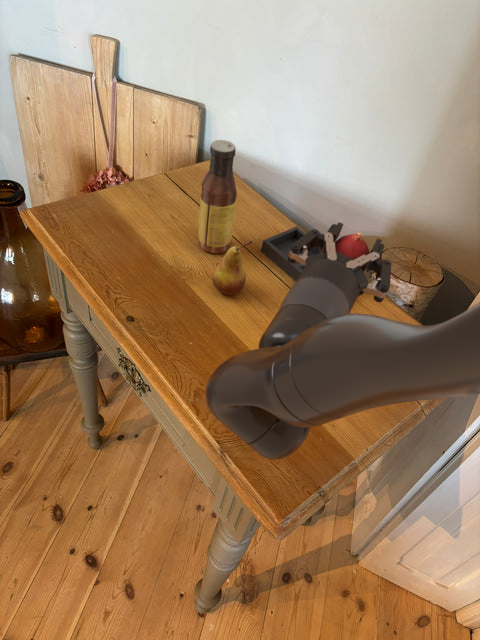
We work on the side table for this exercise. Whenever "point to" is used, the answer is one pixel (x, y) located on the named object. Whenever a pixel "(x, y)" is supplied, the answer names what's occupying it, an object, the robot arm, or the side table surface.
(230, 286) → the fruit
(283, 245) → the tray
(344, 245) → the onion
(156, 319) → the side table surface
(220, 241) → the sauce bottle
